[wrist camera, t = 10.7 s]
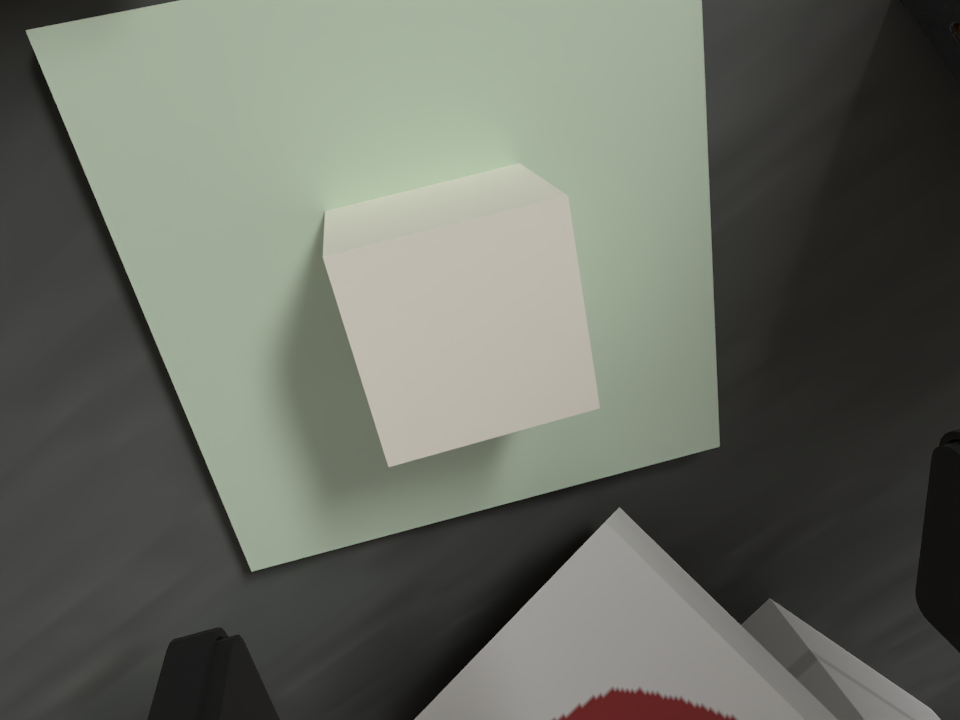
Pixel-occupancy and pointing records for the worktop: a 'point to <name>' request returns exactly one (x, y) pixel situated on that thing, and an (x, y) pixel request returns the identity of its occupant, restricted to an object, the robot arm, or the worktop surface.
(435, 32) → the base plate
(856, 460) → the worktop surface
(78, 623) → the worktop surface
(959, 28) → the ammunition clip
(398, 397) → the cream brick
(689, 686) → the pizza boxes
